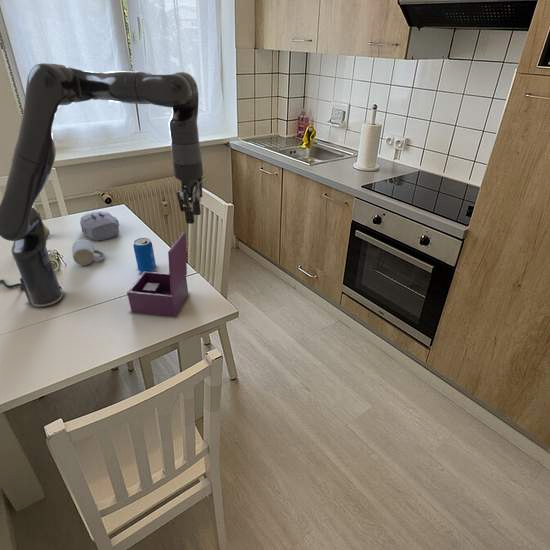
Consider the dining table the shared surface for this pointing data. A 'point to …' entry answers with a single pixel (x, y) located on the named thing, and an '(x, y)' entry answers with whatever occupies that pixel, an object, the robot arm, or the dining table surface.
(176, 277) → the lid
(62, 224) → the dining table surface
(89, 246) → the ceramic mug
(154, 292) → the block
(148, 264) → the beverage can
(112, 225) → the grey rounded bag
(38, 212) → the fennel bulb
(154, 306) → the file box
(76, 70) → the robot arm
